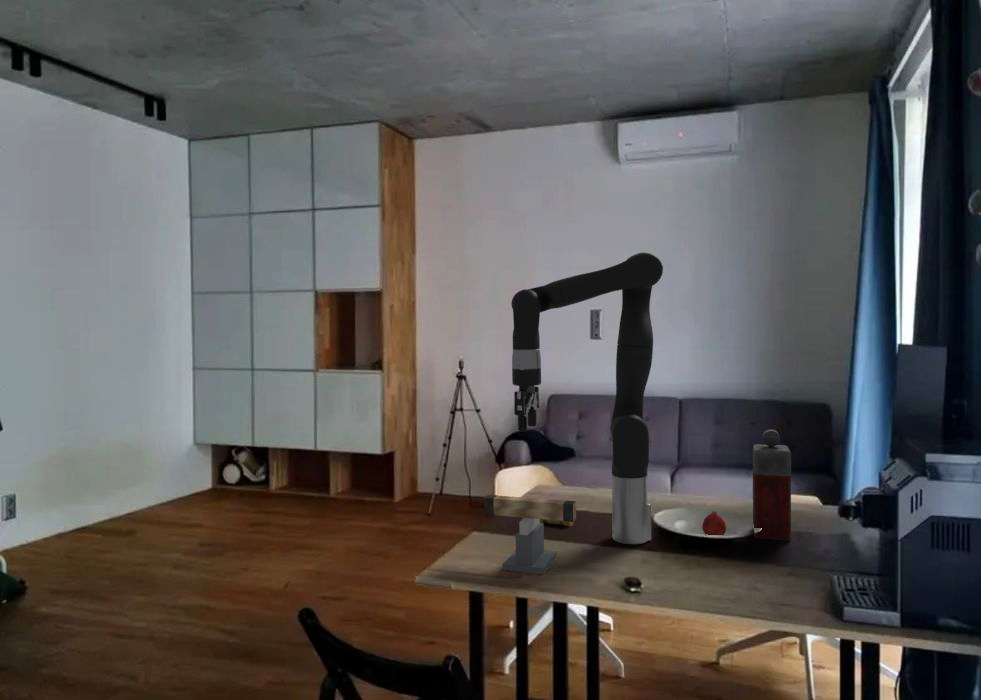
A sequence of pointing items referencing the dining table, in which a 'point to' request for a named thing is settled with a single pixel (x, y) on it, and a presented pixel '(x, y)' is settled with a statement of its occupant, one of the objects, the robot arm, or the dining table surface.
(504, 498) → the oak beam
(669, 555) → the dining table surface
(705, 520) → the onion
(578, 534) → the dining table surface
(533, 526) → the stand
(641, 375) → the robot arm
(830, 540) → the dining table surface
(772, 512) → the red liquor decanter
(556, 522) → the gavel
